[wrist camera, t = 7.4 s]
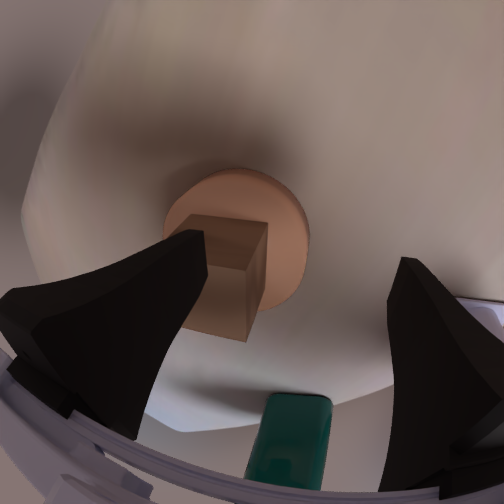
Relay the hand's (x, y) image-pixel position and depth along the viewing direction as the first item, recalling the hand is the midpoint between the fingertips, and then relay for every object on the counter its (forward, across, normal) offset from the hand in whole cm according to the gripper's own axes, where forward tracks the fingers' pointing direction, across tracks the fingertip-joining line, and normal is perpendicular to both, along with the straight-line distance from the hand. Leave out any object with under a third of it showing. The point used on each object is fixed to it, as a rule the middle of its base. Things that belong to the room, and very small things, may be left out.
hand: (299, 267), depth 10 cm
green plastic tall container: (+10, -2, +30) cm, 31 cm away
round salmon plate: (+10, +5, +4) cm, 12 cm away
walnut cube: (+7, +5, +4) cm, 9 cm away
